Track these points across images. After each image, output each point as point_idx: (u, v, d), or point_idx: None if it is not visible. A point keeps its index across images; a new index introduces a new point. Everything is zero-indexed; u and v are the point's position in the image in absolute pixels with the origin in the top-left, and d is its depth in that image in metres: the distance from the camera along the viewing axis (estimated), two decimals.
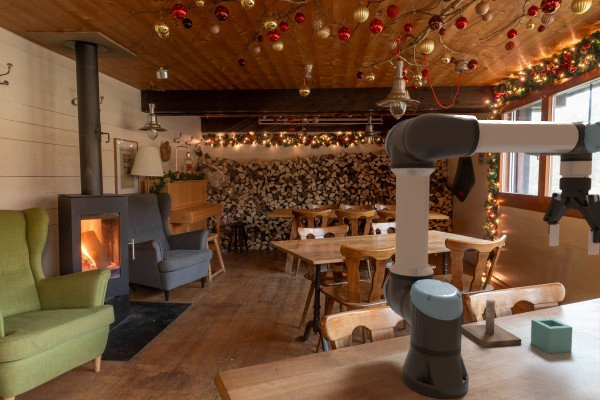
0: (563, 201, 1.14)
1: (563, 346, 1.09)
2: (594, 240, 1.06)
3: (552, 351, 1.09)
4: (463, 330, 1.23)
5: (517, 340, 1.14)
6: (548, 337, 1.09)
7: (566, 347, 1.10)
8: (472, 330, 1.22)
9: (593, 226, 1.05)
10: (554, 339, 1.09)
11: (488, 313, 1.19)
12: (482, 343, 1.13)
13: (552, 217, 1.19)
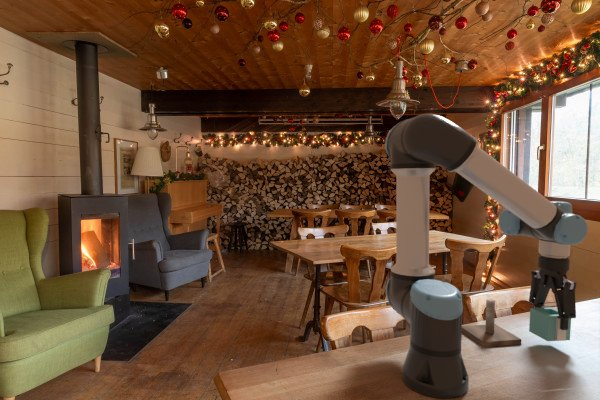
0: (542, 279, 1.13)
1: None
2: (561, 327, 1.08)
3: (550, 339, 1.09)
4: (463, 330, 1.23)
5: (517, 340, 1.14)
6: (547, 325, 1.09)
7: None
8: (472, 330, 1.22)
9: (561, 313, 1.07)
10: (552, 327, 1.09)
11: (488, 313, 1.19)
12: (482, 343, 1.13)
13: (536, 299, 1.16)
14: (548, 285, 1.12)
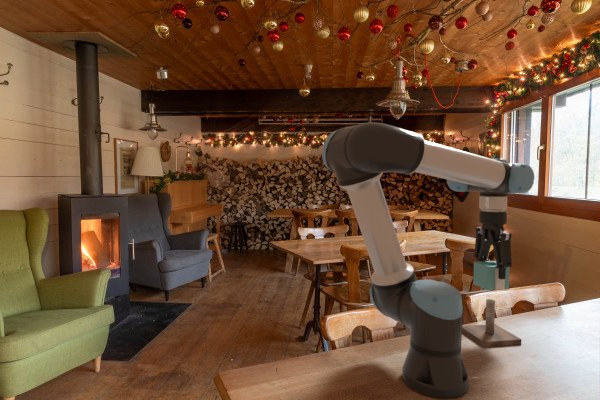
0: (483, 234, 1.19)
1: None
2: (499, 276, 1.14)
3: (490, 288, 1.15)
4: (463, 330, 1.23)
5: (517, 340, 1.14)
6: (486, 275, 1.15)
7: None
8: (472, 330, 1.22)
9: (498, 263, 1.13)
10: (491, 277, 1.15)
11: (488, 313, 1.19)
12: (482, 343, 1.13)
13: (480, 253, 1.22)
14: (488, 239, 1.18)
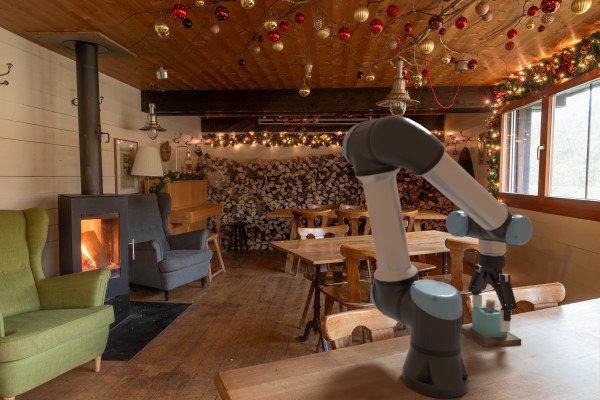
0: (482, 275, 1.20)
1: (500, 331, 1.16)
2: (504, 318, 1.12)
3: (489, 336, 1.16)
4: (463, 330, 1.23)
5: (517, 340, 1.14)
6: (485, 323, 1.16)
7: (502, 332, 1.16)
8: (472, 330, 1.22)
9: (503, 305, 1.11)
10: (490, 324, 1.16)
11: None
12: (482, 343, 1.13)
13: (474, 288, 1.25)
14: (487, 281, 1.19)
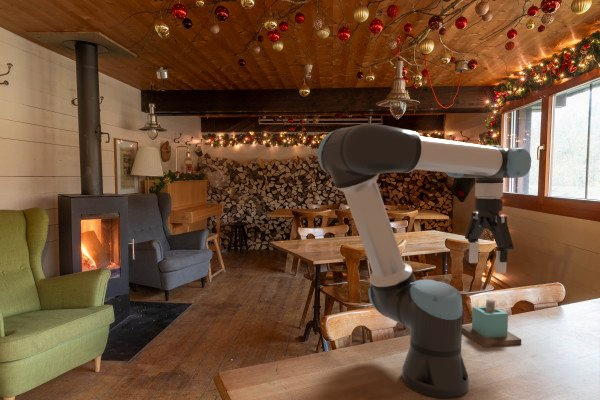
0: (478, 221, 1.19)
1: (500, 331, 1.16)
2: (501, 259, 1.11)
3: (489, 336, 1.16)
4: (463, 330, 1.23)
5: (517, 340, 1.14)
6: (485, 323, 1.16)
7: (502, 332, 1.16)
8: (472, 330, 1.22)
9: (499, 246, 1.11)
10: (490, 324, 1.16)
11: None
12: (482, 343, 1.13)
13: (471, 235, 1.24)
14: (484, 226, 1.18)
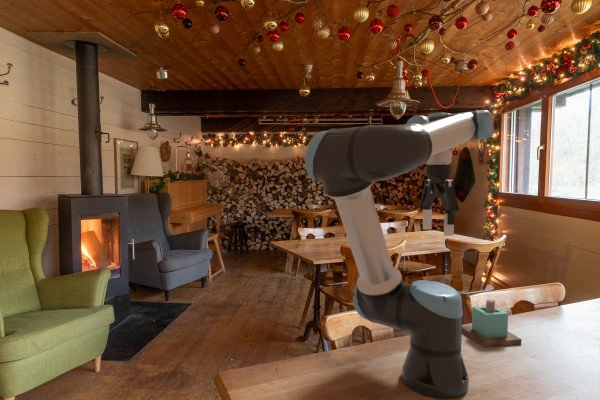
0: (429, 187, 1.23)
1: (500, 331, 1.16)
2: (448, 222, 1.15)
3: (489, 336, 1.16)
4: (463, 330, 1.23)
5: (517, 340, 1.14)
6: (485, 323, 1.16)
7: (502, 332, 1.16)
8: (472, 330, 1.22)
9: (447, 209, 1.14)
10: (490, 324, 1.16)
11: None
12: (482, 343, 1.13)
13: (424, 202, 1.28)
14: (434, 192, 1.22)
